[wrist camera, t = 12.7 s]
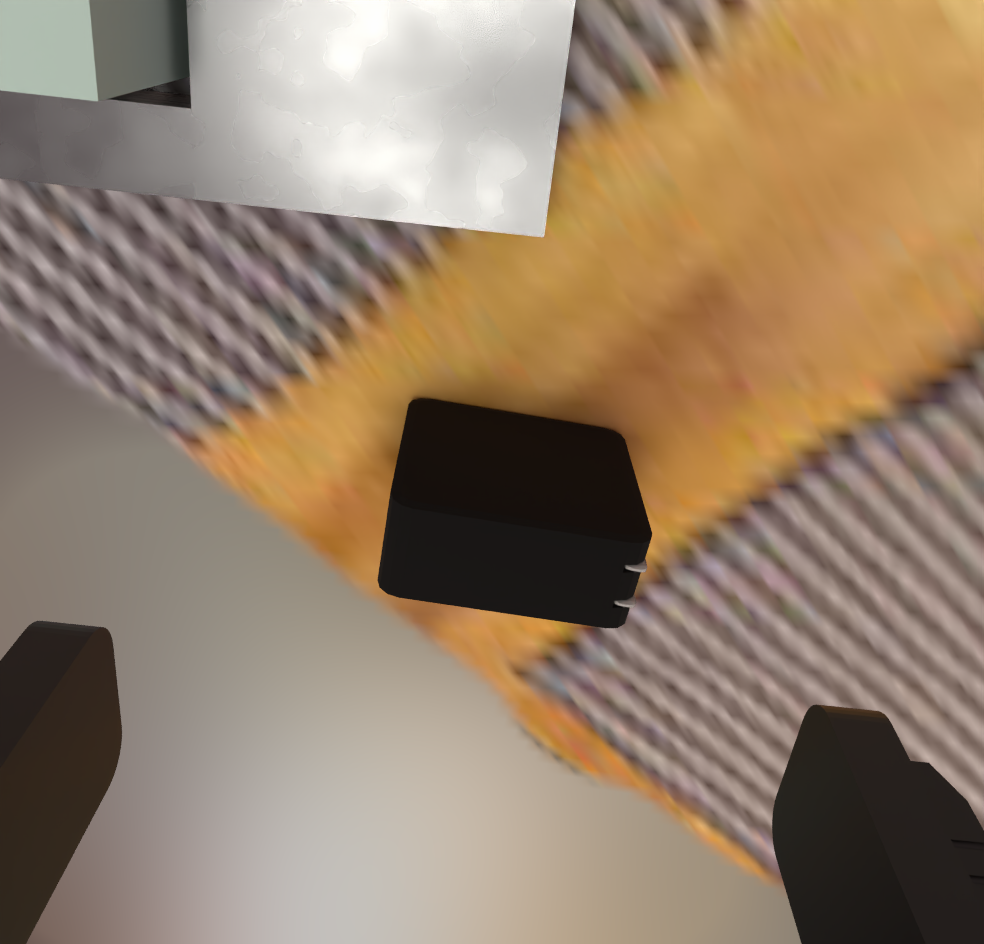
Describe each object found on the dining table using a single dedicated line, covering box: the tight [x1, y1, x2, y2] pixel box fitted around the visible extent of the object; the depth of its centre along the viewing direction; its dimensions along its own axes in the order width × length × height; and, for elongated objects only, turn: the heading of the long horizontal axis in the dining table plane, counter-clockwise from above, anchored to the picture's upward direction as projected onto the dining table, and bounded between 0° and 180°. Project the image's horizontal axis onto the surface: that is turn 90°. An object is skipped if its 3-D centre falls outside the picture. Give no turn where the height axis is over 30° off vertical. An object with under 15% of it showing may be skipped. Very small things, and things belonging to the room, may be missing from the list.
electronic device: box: [378, 399, 652, 628], centre depth 39 cm, size 4×10×10 cm, turn 80°
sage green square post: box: [0, 0, 190, 101], centre depth 30 cm, size 4×4×10 cm
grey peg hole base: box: [0, 0, 576, 237], centre depth 33 cm, size 22×12×4 cm, turn 84°
